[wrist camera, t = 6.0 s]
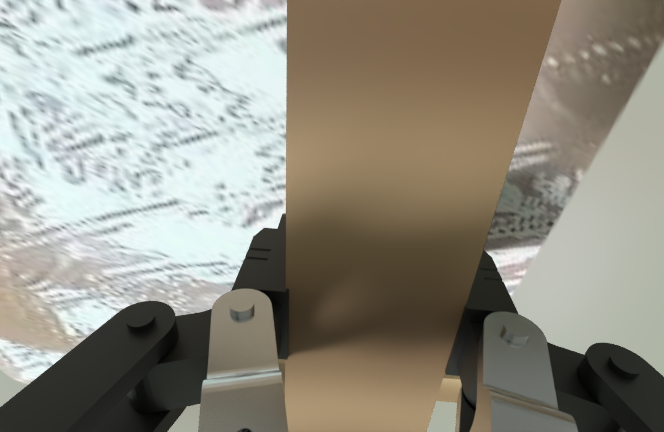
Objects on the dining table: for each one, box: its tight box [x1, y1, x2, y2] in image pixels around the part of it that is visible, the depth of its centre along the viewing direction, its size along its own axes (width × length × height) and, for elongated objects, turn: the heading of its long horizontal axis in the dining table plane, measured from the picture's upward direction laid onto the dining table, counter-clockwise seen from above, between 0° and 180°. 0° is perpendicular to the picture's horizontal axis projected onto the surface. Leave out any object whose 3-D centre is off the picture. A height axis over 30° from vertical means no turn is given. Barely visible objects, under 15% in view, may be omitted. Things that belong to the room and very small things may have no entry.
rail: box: [285, 0, 561, 432], centre depth 10 cm, size 18×4×6 cm, turn 176°
